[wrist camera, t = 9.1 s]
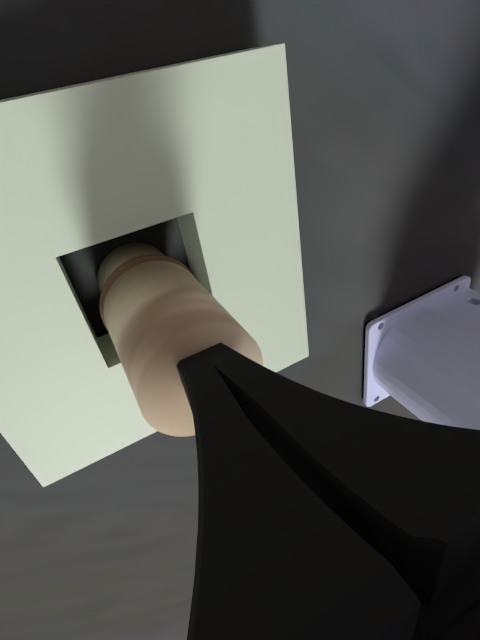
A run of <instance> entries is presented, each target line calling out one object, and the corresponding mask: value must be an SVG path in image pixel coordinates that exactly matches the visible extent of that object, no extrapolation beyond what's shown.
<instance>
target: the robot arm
mask: <svg viewBox="0 0 480 640" xmlns="http://www.w3.org/2000/svg"><path fill="white" fill-rule="evenodd" d="M470 282H471V279H470V277H468V276H465V275H464V276H462V277H460V278H458V279H456V280H454V281H452V282H449V283H447V284H445V285H443V286H441V287H439V288H437V289H435V290H433V291H431V292H429V293H427V294H425V295H423V296H421V297H419V298H417V299H415V300H413V301H411V302H409V303H407V304H405V305H403V306H401V307H399V308H397V309H394V310H392V311H390V312H388V313H386V314H384V315H382V316H380V317H378V318H376V319H374V320H372V321H370V322H369V323H368V324H367V326H366V333H365V365H364V398H363V402H364V404H365V405H366V406H367V407H370V406H372V405H374V404H376V403H377V402H379V401H381V400H383V399H384V398H386V397H388V396H390V395H391V396H392V397H393V398H394V399H396V400H397V401H398V402H399V403H401V404H402V405H403V406H404V407H406V408H407V409H408V410H409V411H411V412H412V413H413V414H414V415H416V416H417V417H418V418H419V419H421V420H422V421H419V420H414V419H409V418H405V417H400V416H396V415H392V414H388V413H384V412H380V411H377V410H373V409H369V408H365V407H362V406H358V405H355V404H352V403H349V402H346V401H343V400H340V399H337V398H334V397H331V396H328V395H326V394H323V393H320V392H318V391H315V390H313V389H311V388H308V387H306V386H304V385H301V384H299V383H297V382H294V381H292V380H290V379H288V378H286V377H284V376H282V375H280V374H278V373H276V372H274V371H272V370H270V369H268V368H266V367H264V366H262V365H260V364H258V363H256V362H255V361H253V360H251V359H249V358H247V357H246V356H244V355H242V354H240V353H239V352H237V351H235V350H234V349H232V348H230V347H228V346H227V345H225V344H223V343H221V342H220V343H218V344H216V345H214V346H211V347H209V348H207V349H205V350H202V351H200V352H198V353H196V354H193V355H191V356H189V357H187V358H185V359H182V360H180V361H179V362H178V364H177V366H176V367H177V370H178V372H179V375H180V378H181V381H182V384H183V387H184V390H185V393H186V396H187V399H188V402H189V405H190V408H191V411H192V414H193V420H194V428H195V436H196V445H197V458H198V481H199V508H198V536H197V550H196V564H195V577H194V587H193V596H192V604H191V612H190V620H189V628H188V636H187V640H480V293H479V292H477V291H475V290H472V289H470V288H469V287H470Z"/></svg>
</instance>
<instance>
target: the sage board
mask: <svg viewBox="0 0 480 640" xmlns="http://www.w3.org/2000/svg"><path fill="white" fill-rule="evenodd" d="M173 218H177V221H178V225H179V229H180V233H181V237H182V240H183V244H184V248H185V252H186V256H187V259H188V263H189V267H190V271H191V272H192V274H193V275H194V277H195V278H196V279H197V280H198V281H199V282H200V283H201V284H202V285H203V286H204V287H205V288H206V290H207V291H208V292H209V293H210V294H211V295H212V296H213V297H214V298H215V299H216V300H217V301H218V302H219V303H220V304H221V305H222V306H223V307H224V308H225V309H226V310H227V311H228V312H229V314H230V315H231V316H232V317H233V318H234V319H235V320H236V321H237V322H238V323H239V324H240V325H241V326H242V327H243V328H244V329H245V330H246V331H247V332H248V333H249V334H250V335H251V337H252V338H253V339H254V340H255V341H256V342H257V344H258V346H259V348H260V350H261V353H262V357H263V366H264V367H266V368H268V369H270V370H272V371H274V372H278V371H280V370H282V369H284V368H286V367H288V366H290V365H292V364H294V363H296V362H298V361H300V360H302V359H304V358H306V357H308V356H309V352H308V339H307V326H306V313H305V300H304V287H303V274H302V261H301V248H300V235H299V222H298V209H297V196H296V183H295V170H294V157H293V144H292V131H291V118H290V105H289V92H288V79H287V66H286V53H285V43H283V44H277V45H270V46H263V47H256V48H249V49H244V50H240V51H235V52H230V53H225V54H220V55H215V56H210V57H206V58H201V59H196V60H191V61H186V62H181V63H177V64H172V65H167V66H162V67H157V68H152V69H148V70H143V71H138V72H133V73H128V74H123V75H118V76H114V77H109V78H104V79H99V80H94V81H89V82H85V83H80V84H75V85H70V86H65V87H60V88H56V89H51V90H46V91H41V92H36V93H31V94H27V95H22V96H17V97H12V98H7V99H2V100H0V433H1V434H2V435H3V437H4V438H5V439H6V441H7V442H8V443H9V444H10V446H11V447H12V448H13V449H14V451H15V452H16V453H17V454H18V456H19V457H20V458H21V460H22V461H23V462H24V463H25V465H26V466H27V467H28V468H29V470H30V471H31V472H32V474H33V475H34V476H35V477H36V479H37V480H38V481H39V482H40V484H41V485H42V486H43V487H45V486H47V485H49V484H51V483H53V482H55V481H57V480H59V479H61V478H63V477H65V476H68V475H70V474H72V473H74V472H76V471H78V470H80V469H82V468H84V467H86V466H88V465H90V464H92V463H94V462H96V461H98V460H100V459H102V458H104V457H106V456H108V455H110V454H112V453H114V452H116V451H118V450H120V449H122V448H124V447H126V446H128V445H130V444H132V443H134V442H136V441H138V440H140V439H142V438H144V437H146V436H148V435H150V434H152V433H154V432H156V431H157V430H155V429H154V428H153V427H151V426H150V425H149V424H148V423H147V422H146V420H145V419H144V417H143V415H142V413H141V411H140V408H139V406H138V403H137V401H136V398H135V396H134V393H133V391H132V388H131V386H130V383H129V381H128V378H127V376H126V374H125V371H124V369H123V366H122V364H121V361H120V359H119V356H118V354H117V351H116V349H115V346H114V344H113V341H112V339H111V337H110V334H109V333H108V334H106V335H103V336H101V337H98V338H97V337H96V335H95V333H94V330H93V328H92V326H91V324H90V322H89V320H88V318H87V315H86V313H85V311H84V309H83V307H82V305H81V303H80V301H79V298H78V296H77V294H76V292H75V290H74V288H73V286H72V283H71V281H70V279H69V277H68V275H67V273H66V271H65V269H64V266H63V264H62V262H61V260H60V258H59V256H62V255H65V254H68V253H71V252H74V251H77V250H80V249H83V248H86V247H89V246H92V245H95V244H98V243H101V242H104V241H107V240H110V239H113V238H116V237H119V236H122V235H125V234H128V233H131V232H134V231H137V230H140V229H143V228H146V227H149V226H152V225H155V224H158V223H161V222H164V221H167V220H170V219H173Z"/></svg>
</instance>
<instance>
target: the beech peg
mask: <svg viewBox="0 0 480 640" xmlns="http://www.w3.org/2000/svg"><path fill="white" fill-rule="evenodd" d="M97 280H98V287H99V290H100V292H101V295H100V301H99V309H100V315H101V318H102V320H103V323H104V325H105V327H106V329H107V330H108V332H109V334H110V337H111V339H112V341H113V344H114V346H115V349H116V351H117V354H118V356H119V359H120V361H121V364H122V366H123V369H124V371H125V374H126V376H127V378H128V381H129V383H130V386H131V388H132V391H133V393H134V396H135V398H136V401H137V403H138V406H139V408H140V411H141V413H142V415H143V417H144V419H145V420H146V422H147V423H148V424H149V425H150V426H151V427H153V428H154V429H155V430H157V431H159V432H161V433H164V434H167V435H171V436H182V437H183V436H193V435H195V428H194V420H193V414H192V411H191V408H190V405H189V402H188V399H187V396H186V393H185V390H184V387H183V384H182V381H181V378H180V375H179V372H178V370H177V367H176V366H177V364H178V362H179V361H180V360H182V359H185V358H187V357H189V356H191V355H193V354H196V353H198V352H200V351H202V350H205V349H207V348H209V347H211V346H214V345H216V344H218V343H220V342H221V343H223V344H225V345H227V346H228V347H230V348H232V349H234V350H235V351H237V352H239V353H240V354H242V355H244V356H246V357H247V358H249V359H251V360H253V361H255V362H256V363H258V364H260V365H262V366H263V357H262V353H261V350H260V348H259V346H258V344H257V342H256V341H255V340H254V339H253V338H252V337H251V335H250V334H249V333H248V332H247V331H246V330H245V329H244V328H243V327H242V326H241V325H240V324H239V323H238V322H237V321H236V320H235V319H234V318H233V317H232V316H231V315H230V314H229V312H228V311H227V310H226V309H225V308H224V307H223V306H222V305H221V304H220V303H219V302H218V301H217V300H216V299H215V298H214V297H213V296H212V295H211V294H210V293H209V292H208V291H207V290H206V288H205V287H204V286H203V285H202V284H201V283H200V282H199V281H198V280H197V279H196V278H195V277H194V275H193V274H192V272H191V271H190V270H189V269H188V268H187V267H186V266H185V265H184V264H183V263H181V262H180V261H178V260H176V259H174V258H172V257H169V256H165V255H164V254H163V253H162V252H161V251H159V250H158V249H157V248H155V247H153V246H151V245H149V244H145V243H128V244H124V245H121V246H119V247H117V248H116V249H114V250H113V251H111V252H110V253H109V254H108V255H107V256H106V257H105V258H104V260H103V261H102V263H101V265H100V268H99V271H98V277H97Z"/></svg>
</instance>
